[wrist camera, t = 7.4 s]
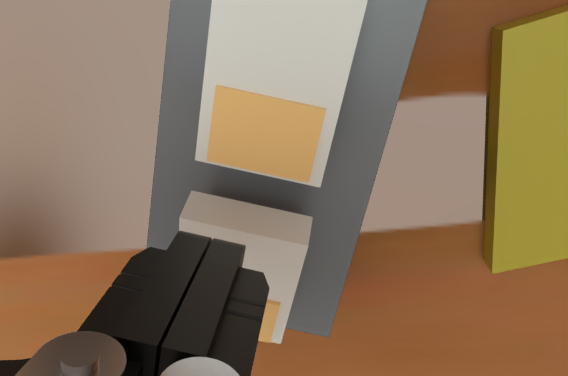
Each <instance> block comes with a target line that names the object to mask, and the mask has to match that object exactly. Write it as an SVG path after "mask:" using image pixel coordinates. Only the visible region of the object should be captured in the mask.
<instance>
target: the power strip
mask: <svg viewBox="0 0 568 376" xmlns="http://www.w3.org/2000/svg"><path fill="white" fill-rule="evenodd" d="M170 3H171V4H170V12H169V13H170V14H169V23H168V33H167V43H166V54H165V64H164V74H163V85H162V95H161V106H160V116H159V126H158V137H157V147H156V156H155V167H154V177H153V188H152V197H151V209H150V218H149V229H148V239H147V248H149V247H153V248H158V249H162V250H167V248H168V247H169V245H170V244H171V242H172V241H173V239H174V237H175V236H176V234H177V233H178V231H179V217H180V215H181V213H182V210H183V208H184V206H185V204H186V202H187V199H188V197H189V195H190V193H191V190H192V191H197V192H201V193H206V194H210V195H215V196H219V197H224V198H228V199H233V200H238V201H242V202H247V203H251V204H256V205H260V206H265V207H270V208H274V209H279V210H283V211H288V212H292V213H297V214H301V215H306V216H311V217H313V219H312V226H311V232H310V239H309V245H308V249H307V253H306V256H305V260H304V263H303V267H302V270H301V274H300V278H299V281H298V285H297V288H296V292H295V295H294V299H293V302H292V306H291V309H290V313H289V316H288V320H287V324H286V327H285V328H288V329H293V330H297V331H302V332H306V333H311V334H315V335H320V336H325V337H329V335H330V331H331V328H332V325H333V321H334V318H335V314H336V311H337V308H338V304H339V301H340V297H341V294H342V290H343V287H344V284H345V280H346V277H347V273H348V270H349V267H350V263H351V260H352V256H353V253H354V249H355V246H356V243H357V239H358V236H359V232H360V229H361V226H362V222H363V218H364V215H365V212H366V208H367V205H368V201H369V198H370V195H371V191H372V188H373V184H374V181H375V177H376V174H377V171H378V167H379V164H380V161H381V157H382V154H383V150H384V147H385V143H386V140H387V136H388V133H389V129H390V126H391V123H392V120H393V116H394V113H395V109H396V106H397V102H398V99H399V96H400V92H401V89H402V85H403V82H404V79H405V75H406V72H407V68H408V65H409V61H410V58H411V55H412V51H413V48H414V44H415V41H416V37H417V34H418V31H419V27H420V24H421V20H422V17H423V14H424V10H425V7H426V3H427V0H368V2H367V6H366V10H365V14H364V18H363V22H362V26H361V29H360V33H359V37H358V41H357V45H356V49H355V53H354V57H353V61H352V65H351V69H350V73H349V77H348V81H347V85H346V88H345V92H344V96H343V100H342V104H341V108H340V112H339V116H338V120H337V124H336V128H335V132H334V136H333V140H332V143H331V147H330V151H329V155H328V159H327V163H326V167H325V171H324V175H323V179H322V183H321V187H315V186H310V185H306V184H301V183H297V182H292V181H288V180H283V179H278V178H274V177H269V176H265V175H260V174H256V173H251V172H246V171H242V170H237V169H233V168H228V167H223V166H219V165H214V164H210V163H205V162H201V161H196V160H195V154H196V145H197V135H198V126H199V116H200V107H201V98H202V88H203V79H204V69H205V60H206V51H207V41H208V32H209V22H210V13H211V4H212V0H171V2H170Z"/></svg>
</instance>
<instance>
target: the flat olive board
mask: <svg viewBox="0 0 568 376" xmlns="http://www.w3.org/2000/svg"><path fill="white" fill-rule="evenodd" d="M485 122H486V124H485V151H484V179H483V180H484V181H483V208H482V221H483V220H485V232H484V260H485V262H486V264H487V265H488V267H489V269H490V271H491V273H492V274H494V273H499V272H504V271H509V270H513V269H518V268H523V267H528V266H533V265H537V264H542V263H547V262H552V261H557V260H561V259H566V258H568V4H567V5H564V6H561V7H558V8H554V9H551V10H548V11H545V12H541V13H538V14H535V15H531V16H528V17H525V18H522V19H518V20H515V21H512V22H509V23H505V24H502V25H499V26H496V27H492V44H491V71H490V96H486V121H485Z"/></svg>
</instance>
